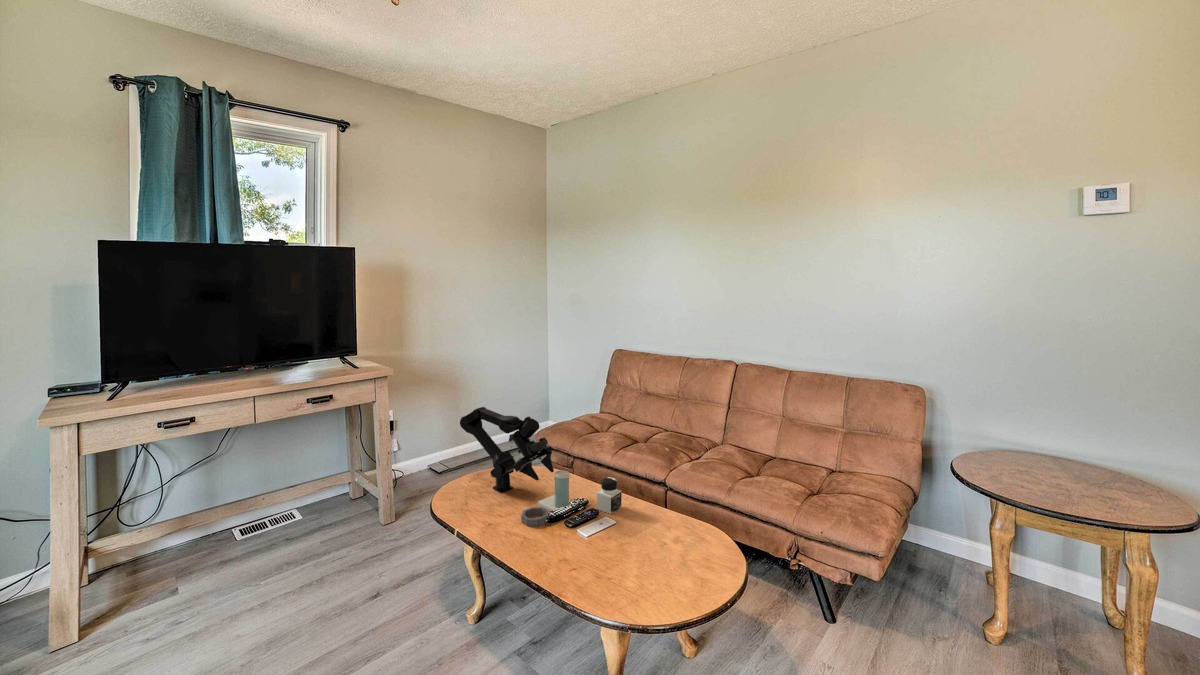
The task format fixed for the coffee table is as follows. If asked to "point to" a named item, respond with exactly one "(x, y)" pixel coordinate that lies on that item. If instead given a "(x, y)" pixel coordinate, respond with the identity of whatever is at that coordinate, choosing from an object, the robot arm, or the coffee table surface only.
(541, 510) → the holder ring
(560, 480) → the jar
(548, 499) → the tray
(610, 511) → the medicine bottle
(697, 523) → the coffee table surface
